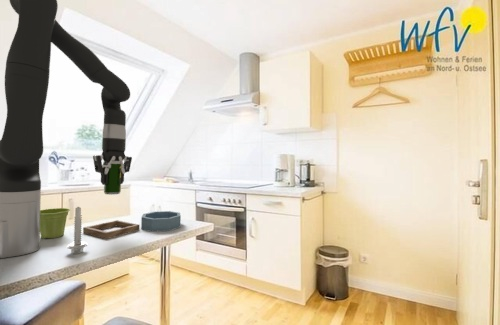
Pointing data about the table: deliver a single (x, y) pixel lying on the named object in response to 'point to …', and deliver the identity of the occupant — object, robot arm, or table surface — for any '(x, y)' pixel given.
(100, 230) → the walnut frame
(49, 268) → the table surface
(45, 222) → the plant pot
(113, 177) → the beer can
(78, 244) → the screw
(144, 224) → the slate bowl
